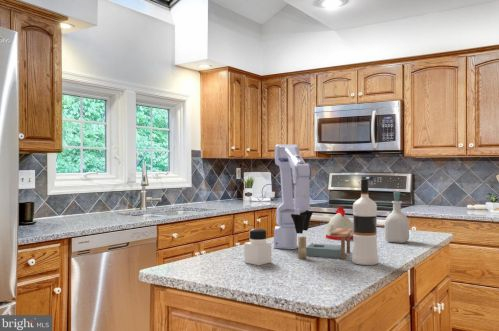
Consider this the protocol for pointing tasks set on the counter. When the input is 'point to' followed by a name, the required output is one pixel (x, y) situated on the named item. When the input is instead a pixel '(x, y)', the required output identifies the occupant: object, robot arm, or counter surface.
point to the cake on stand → (339, 224)
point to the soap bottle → (396, 223)
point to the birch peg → (301, 247)
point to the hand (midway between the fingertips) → (302, 231)
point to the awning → (343, 239)
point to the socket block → (324, 250)
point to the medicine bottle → (257, 248)
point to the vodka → (365, 229)
